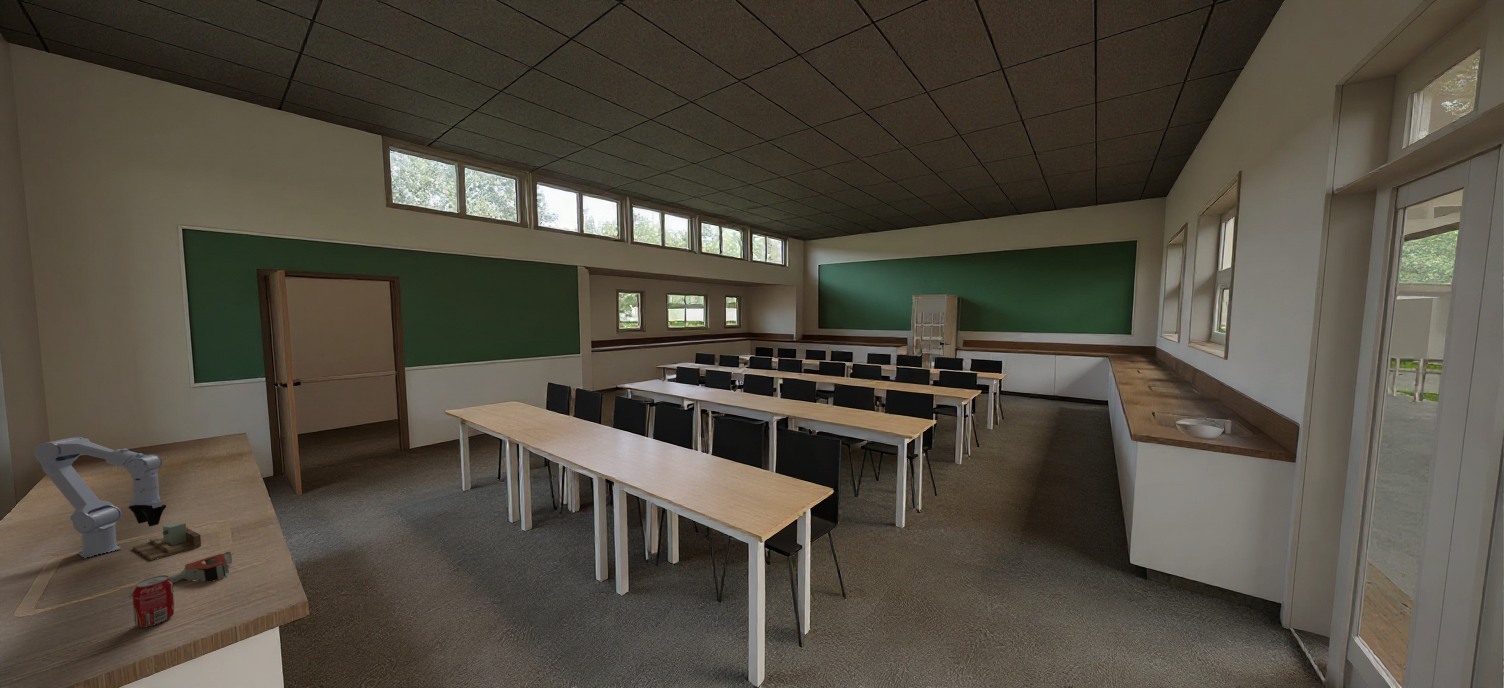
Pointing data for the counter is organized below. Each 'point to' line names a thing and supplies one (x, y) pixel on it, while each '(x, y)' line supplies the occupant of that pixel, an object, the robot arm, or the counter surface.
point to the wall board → (161, 549)
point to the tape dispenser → (205, 569)
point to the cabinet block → (174, 533)
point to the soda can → (153, 601)
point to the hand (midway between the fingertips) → (148, 523)
